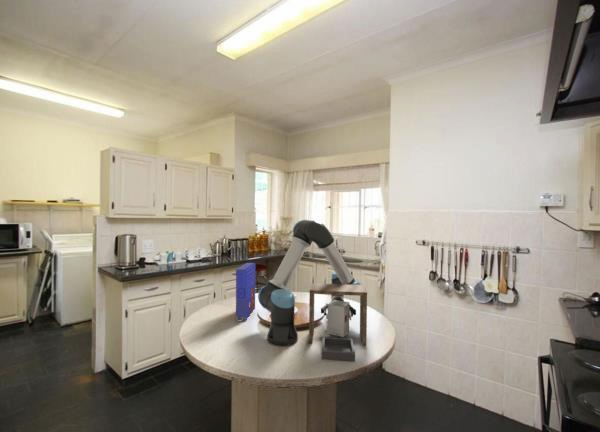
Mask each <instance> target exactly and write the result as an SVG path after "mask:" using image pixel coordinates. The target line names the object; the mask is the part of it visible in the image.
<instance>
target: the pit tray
mask: <svg viewBox="0 0 600 432" xmlns="http://www.w3.org/2000/svg"><path fill="white" fill-rule="evenodd" d="M321 345H322V346H321V360H325V361H326V360H327V361H339V362H341V361H342V362H356V351H355V346H354V340H353V338H345V337H330V336H329V337H326V336H323V337H322V344H321Z"/></svg>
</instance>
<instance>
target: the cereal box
mask: <svg viewBox="0 0 600 432" xmlns="http://www.w3.org/2000/svg"><path fill="white" fill-rule="evenodd" d="M235 269H236V268H235ZM255 309H256V262H246V263H244V264H243V265H241V266H239V267H238V268H237V269H236V270H235V321H236V320H242V321H241V322H246V321H247V320H248V319H249V318H250V316H251V315H252V314H251V313H253V312H254V311H255ZM253 310H254V311H253ZM250 314H251V315H250ZM248 317H249V318H248ZM247 318H248V319H247Z"/></svg>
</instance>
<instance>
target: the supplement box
mask: <svg viewBox="0 0 600 432" xmlns="http://www.w3.org/2000/svg"><path fill="white" fill-rule="evenodd" d="M327 304H328V319H327V321H326V322H327V331H326V332H327V334H330V335H334V336H337V337H341V338H345V336H346V335H347V334H348V333H349V331H350V319H349V305H350V301H345V300H344V301H339V300H333V301H332V302H331V301H330V302H329V303H327Z"/></svg>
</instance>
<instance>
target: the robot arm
mask: <svg viewBox="0 0 600 432" xmlns="http://www.w3.org/2000/svg"><path fill="white" fill-rule="evenodd" d="M291 239H292V242H291V244H290V246H289V247H288V250H286V251H287V252H286V253H285V255H284V257H283V259H282V260H281V263H280V265H279V266H278V269H277V270H276V272H275V274H274V276H273V278H272V279H270V280H268V282H267V283H266V285H264V286H263V287H261V288H260V289H259V291H258V294H257V299H258V302H259V304H260V305H261V307H262V308H263V309H265V310H267V312H270V326H269V329H268V331H267V335H266V337H267V338H266V341H267V343H268V344H270V343H271V344H270V345H272V346H276V345H277V346H276V347H285V346H286V347H288V346H292V345H294V344H295V343H297V342H298V340H299V339H298V336H299V335H298V331H297V328H296V323H295V303H296V299H295V298H296V297H295V294H294V292H292V291H291V290H289V289H288V288H287V287H288V285H289V282H290V281H291V278H292V276H293V275H294V273H295V271H296V269H297V267H298V266H299V263H300V261H301V258H302V257H303V255H304V254H305V251H306V249H308V248H310V247H311V245H312V243H314V244H315V245H316V246H317V247H318V249H320V250H322V252H323V254H324V256H325V257H326V259H327V261H328V262H329V264H330V266H331V268H332V269H333V271H334V272H332V273H331V284H349V285H362V284H361V282H358V281H357V280H355V278H354V276H353V275H352V273H351V271H350V269H349V267H348V266H347V264H346V262H345V260H344V259H343V257H342V254H341V253H340V251H339V250H338V247H337V246H336V244H335V239H334V236H333V235H332V233H331V232H330V230H329V229H328V227H327V226H326V225H325V224H324V223H323V222H321V221H319V220H310V219H309V220H308V219H303V220H302V219H301V220H299V221H297V222H296V223H295V224H294V226H293V228H292V236H291ZM330 298H331V301H330V302H332V301H333V300H339V301H345V299H344V298H345V295H332V294H330ZM328 304H329V303H327V302H326V303H325V305H323V306H322V307H321V308H320V313H321V314H323V315H324V316H325V319H326V320H328ZM356 315H357V310H356V309H355V308H354V307H353V306H351V304H349V321H352V318H353V317H354V316H356Z"/></svg>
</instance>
